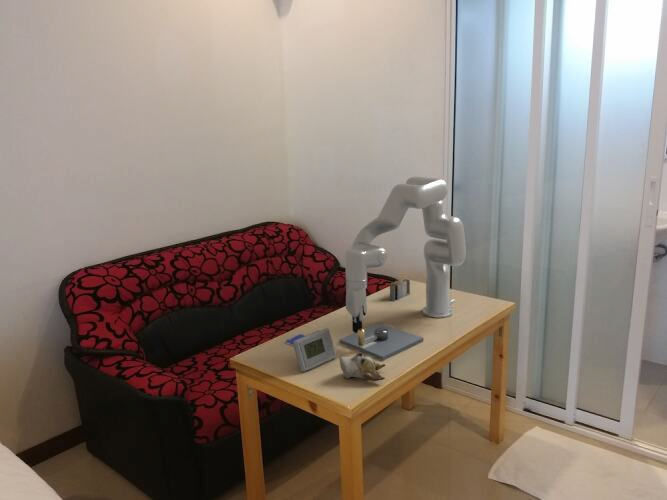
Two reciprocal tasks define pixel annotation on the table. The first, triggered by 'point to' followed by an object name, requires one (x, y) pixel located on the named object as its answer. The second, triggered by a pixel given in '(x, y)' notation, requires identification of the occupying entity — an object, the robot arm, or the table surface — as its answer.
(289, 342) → the hard drive
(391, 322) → the table surface
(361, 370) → the ceramic sculpture
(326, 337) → the digital clock
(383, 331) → the lever
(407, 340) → the dial plate
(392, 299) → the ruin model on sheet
